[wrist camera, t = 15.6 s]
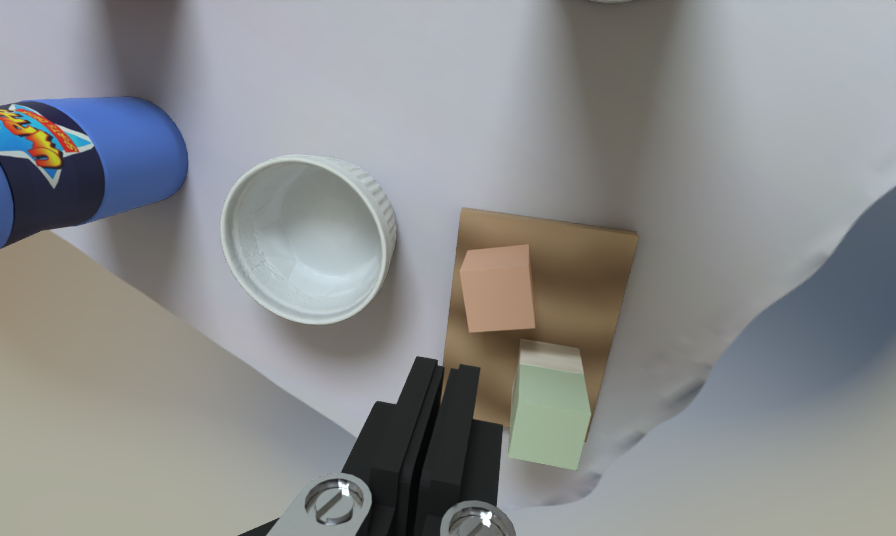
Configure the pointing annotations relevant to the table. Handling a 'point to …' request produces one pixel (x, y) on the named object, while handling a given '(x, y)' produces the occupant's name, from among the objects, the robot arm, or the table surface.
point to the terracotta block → (498, 289)
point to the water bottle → (83, 161)
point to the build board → (542, 305)
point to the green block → (549, 417)
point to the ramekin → (308, 237)
